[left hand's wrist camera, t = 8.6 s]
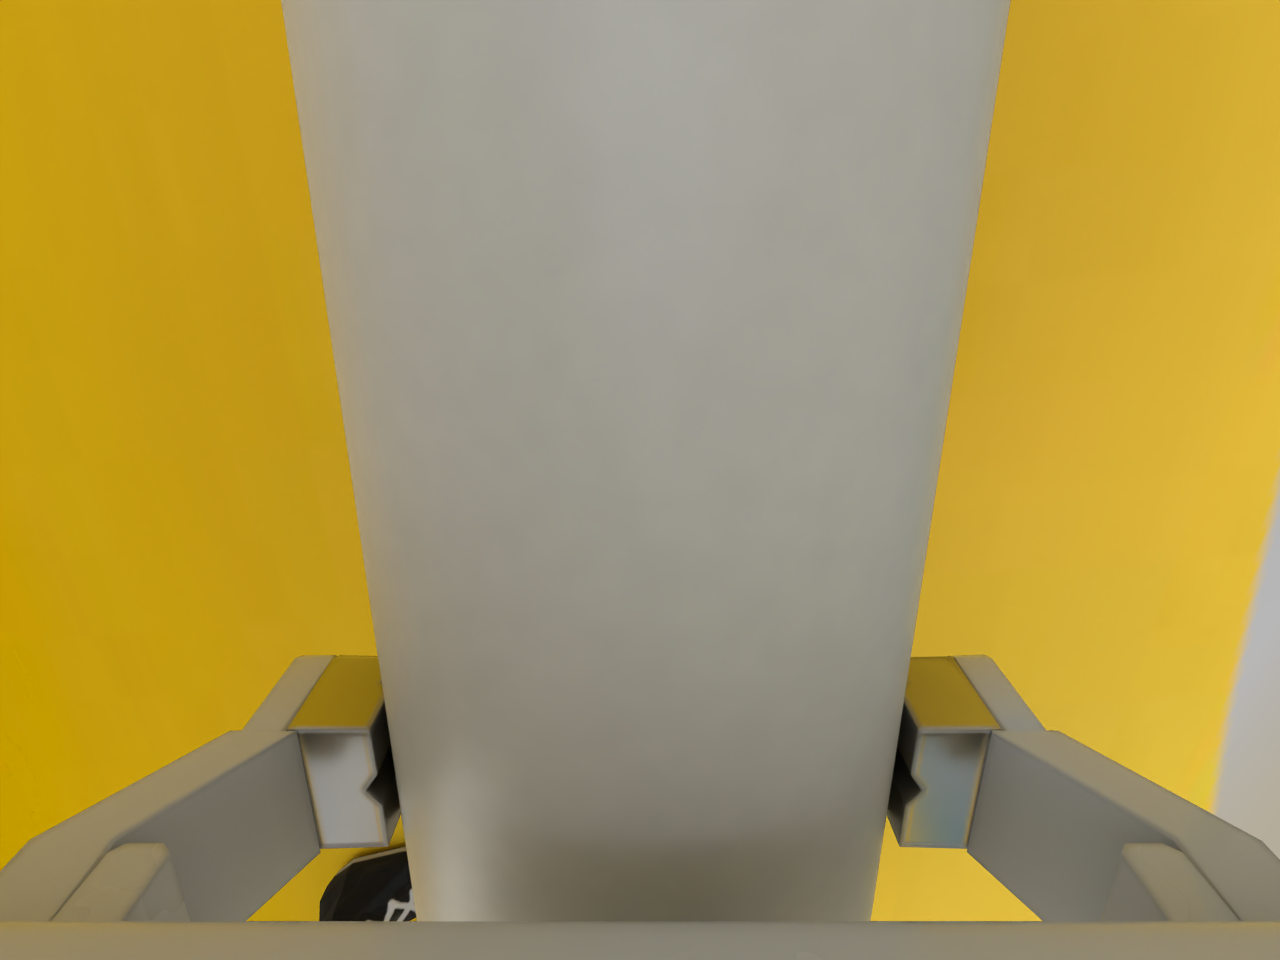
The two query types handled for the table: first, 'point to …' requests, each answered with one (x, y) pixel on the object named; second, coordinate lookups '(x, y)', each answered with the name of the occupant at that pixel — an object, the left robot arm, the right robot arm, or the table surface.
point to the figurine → (371, 890)
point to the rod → (644, 424)
